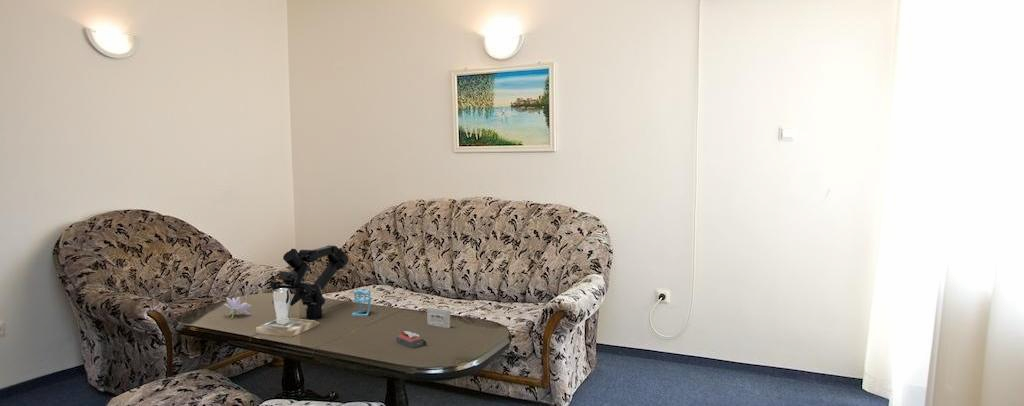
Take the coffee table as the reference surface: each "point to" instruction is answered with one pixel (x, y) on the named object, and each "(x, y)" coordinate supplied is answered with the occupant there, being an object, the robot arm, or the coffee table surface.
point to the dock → (286, 327)
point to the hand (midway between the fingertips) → (282, 304)
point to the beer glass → (282, 306)
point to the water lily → (237, 306)
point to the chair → (362, 299)
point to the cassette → (435, 321)
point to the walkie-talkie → (410, 339)
